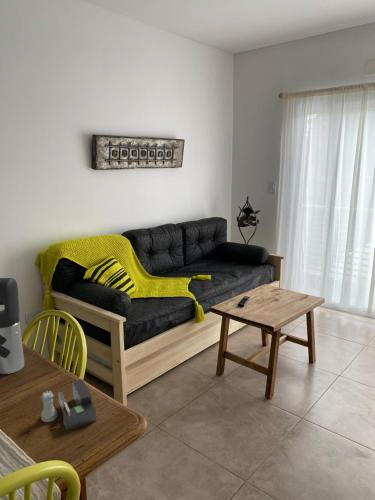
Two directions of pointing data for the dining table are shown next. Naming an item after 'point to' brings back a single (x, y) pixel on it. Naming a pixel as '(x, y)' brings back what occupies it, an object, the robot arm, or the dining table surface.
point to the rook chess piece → (48, 407)
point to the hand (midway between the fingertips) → (6, 348)
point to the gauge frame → (80, 407)
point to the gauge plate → (63, 402)
